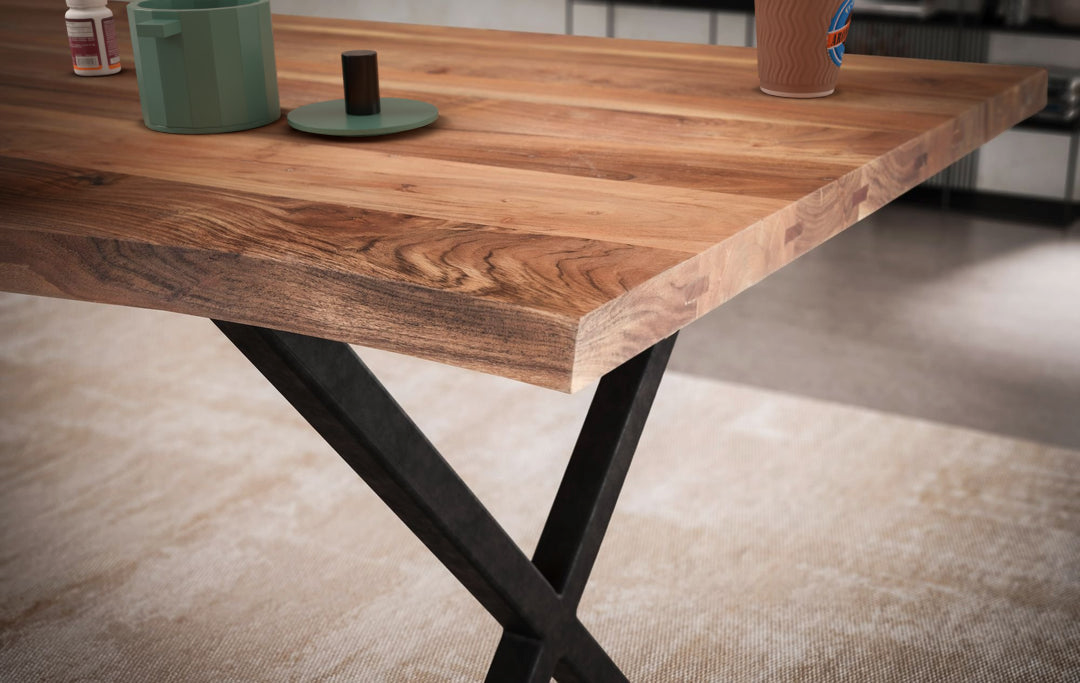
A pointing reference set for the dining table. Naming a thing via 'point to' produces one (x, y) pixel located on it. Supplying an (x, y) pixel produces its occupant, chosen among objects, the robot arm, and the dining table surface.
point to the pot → (205, 64)
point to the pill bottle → (92, 38)
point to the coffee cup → (801, 45)
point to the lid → (362, 105)
